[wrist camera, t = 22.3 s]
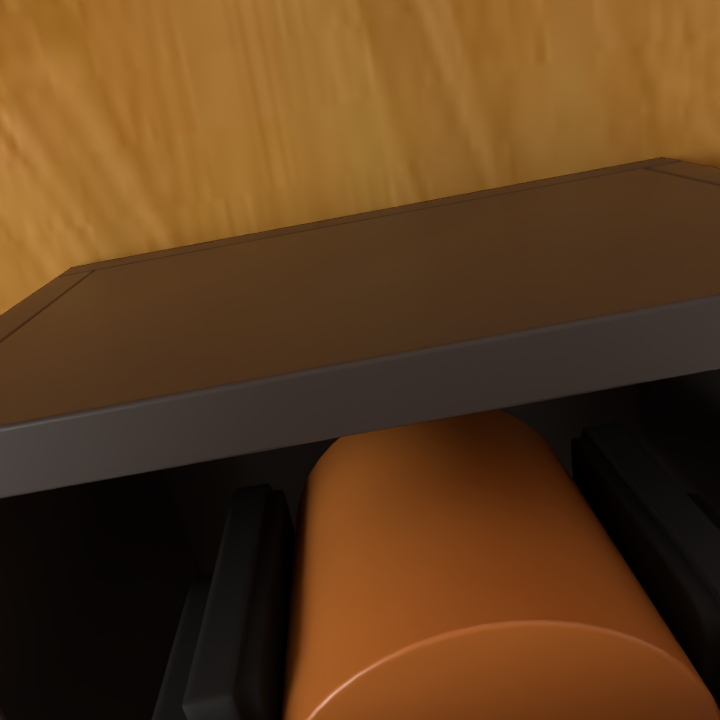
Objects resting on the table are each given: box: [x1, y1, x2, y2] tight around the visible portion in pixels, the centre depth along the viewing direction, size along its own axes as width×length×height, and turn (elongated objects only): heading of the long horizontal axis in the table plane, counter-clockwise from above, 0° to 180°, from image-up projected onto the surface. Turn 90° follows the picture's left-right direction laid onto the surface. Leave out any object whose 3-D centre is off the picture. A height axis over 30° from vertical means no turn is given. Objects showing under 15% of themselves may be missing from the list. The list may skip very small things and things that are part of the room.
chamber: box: [0, 157, 720, 720], centre depth 12 cm, size 15×13×8 cm
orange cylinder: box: [281, 409, 720, 720], centre depth 8 cm, size 5×5×4 cm
